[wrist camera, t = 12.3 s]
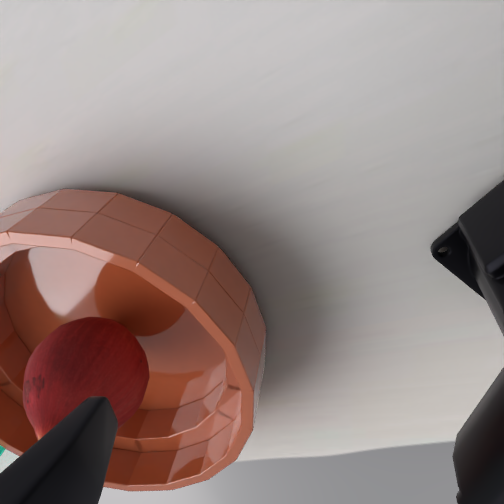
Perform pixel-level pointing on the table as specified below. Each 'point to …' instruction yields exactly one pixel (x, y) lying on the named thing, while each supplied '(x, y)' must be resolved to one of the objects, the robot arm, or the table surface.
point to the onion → (84, 372)
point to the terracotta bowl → (135, 328)
